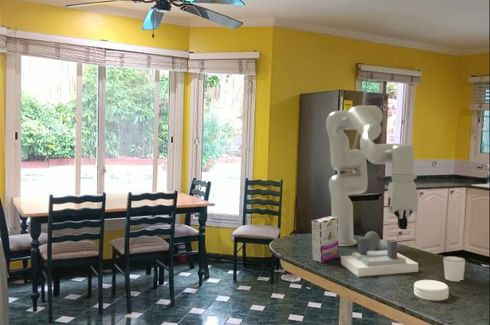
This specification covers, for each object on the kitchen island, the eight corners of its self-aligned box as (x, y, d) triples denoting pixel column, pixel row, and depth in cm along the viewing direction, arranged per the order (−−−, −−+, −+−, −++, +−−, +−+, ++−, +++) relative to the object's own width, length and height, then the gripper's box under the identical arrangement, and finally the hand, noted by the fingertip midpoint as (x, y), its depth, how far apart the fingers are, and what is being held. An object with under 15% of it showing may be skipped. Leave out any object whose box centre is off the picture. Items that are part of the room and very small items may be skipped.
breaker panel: (341, 263, 179) (340, 237, 178) (396, 259, 183) (396, 233, 182) (358, 276, 163) (357, 247, 162) (418, 271, 167) (418, 243, 166)
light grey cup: (448, 274, 163) (448, 254, 163) (468, 278, 158) (468, 258, 158) (439, 279, 159) (439, 258, 158) (460, 283, 154) (460, 262, 153)
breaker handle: (387, 256, 170) (387, 240, 170) (393, 255, 171) (393, 239, 170) (391, 258, 168) (391, 242, 167) (397, 257, 168) (397, 241, 168)
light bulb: (380, 257, 186) (380, 233, 185) (364, 257, 187) (364, 232, 187) (379, 253, 192) (378, 229, 191) (364, 253, 193) (363, 229, 192)
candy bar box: (329, 255, 192) (328, 215, 191) (339, 257, 188) (338, 217, 187) (311, 260, 184) (310, 219, 183) (321, 263, 181) (320, 221, 180)
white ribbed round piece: (437, 289, 150) (437, 278, 149) (455, 300, 140) (455, 288, 139) (408, 291, 148) (408, 280, 148) (423, 302, 139) (423, 291, 138)
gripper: (416, 176, 173) (416, 225, 174) (378, 178, 171) (378, 227, 172) (427, 178, 165) (427, 229, 167) (387, 180, 163) (387, 232, 164)
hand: (402, 228), depth 169 cm, fingers closed
